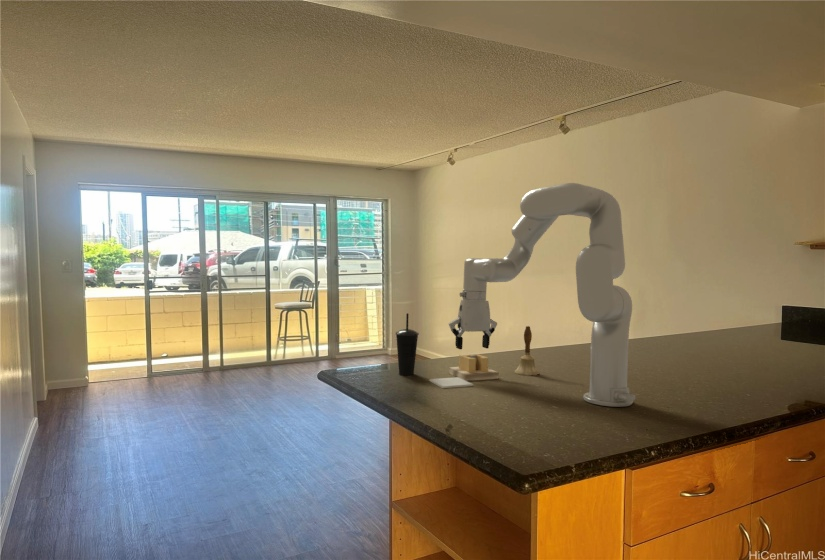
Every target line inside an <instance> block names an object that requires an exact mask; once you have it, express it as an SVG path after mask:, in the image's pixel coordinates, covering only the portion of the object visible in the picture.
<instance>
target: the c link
mask: <svg viewBox="0 0 825 560" xmlns="http://www.w3.org/2000/svg"><path fill="white" fill-rule="evenodd" d="M471 355H475V356H477V366H476V358H471ZM458 357H459V358H458V367H459V369H462V370H464V371H466V372H469V373H470V372H475V369H476V368H477V369H479V371H481V372H485V371H488V368H489V357H487V356H484V355H481V354H478V353H475V354H459V356H458Z"/></svg>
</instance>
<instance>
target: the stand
mask: <svg viewBox="0 0 825 560" xmlns="http://www.w3.org/2000/svg"><path fill="white" fill-rule="evenodd" d="M470 355H471V358H476V366H477V356H475V355H472V354H470ZM448 374H450V375H452V376H454V377H459V378H461V379H463V380H465V381H467V382H470V381H482V380H485V381H486V380H495V379H499V371H496V370H493V369H491V368H489V367H488V371H485V372H481V371H479V369H477V368H476V369H475V372H470V373H469V372H466V371H464V370H462V369H459V366H451V367H448Z"/></svg>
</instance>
